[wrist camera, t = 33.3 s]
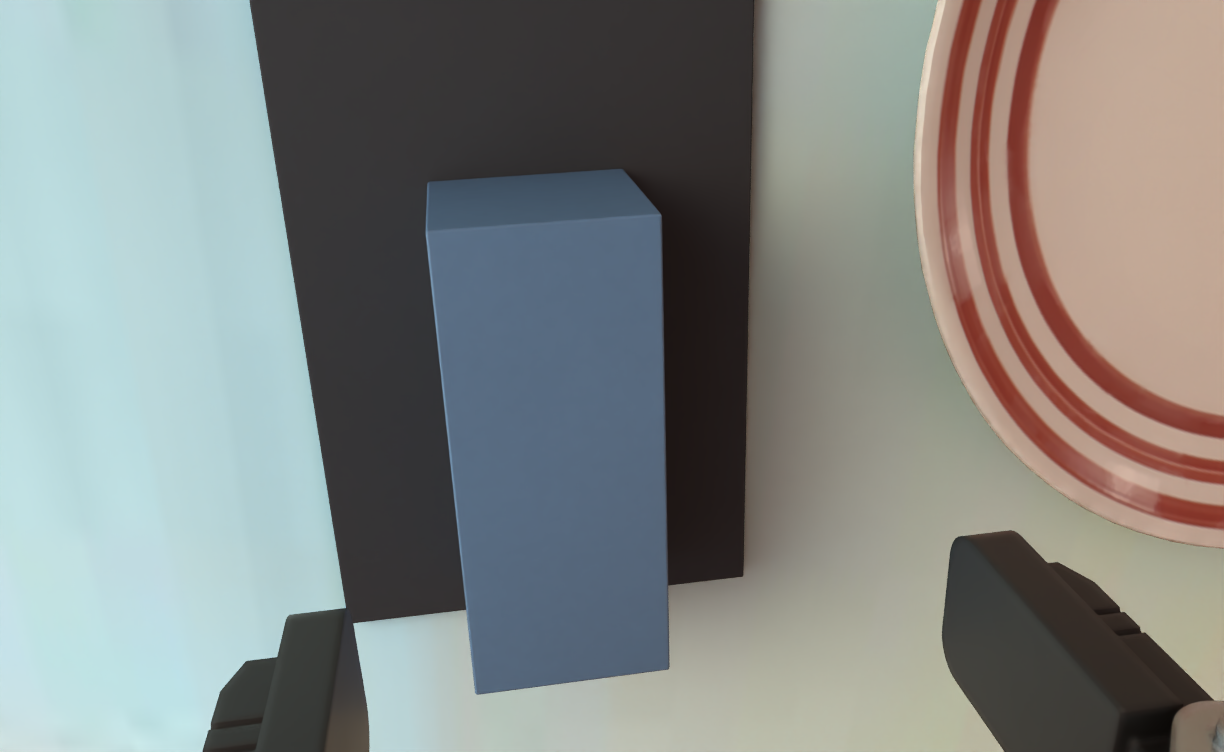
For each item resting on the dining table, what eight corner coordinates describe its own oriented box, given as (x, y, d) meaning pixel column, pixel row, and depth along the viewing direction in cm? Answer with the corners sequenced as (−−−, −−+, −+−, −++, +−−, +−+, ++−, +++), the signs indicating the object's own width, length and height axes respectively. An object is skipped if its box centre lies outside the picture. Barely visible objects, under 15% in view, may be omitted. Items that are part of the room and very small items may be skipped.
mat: (750, -52, 25) (755, -52, 25) (740, 569, 32) (743, 576, 32) (247, -32, 24) (243, -32, 23) (349, 616, 31) (348, 624, 30)
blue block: (475, 696, 26) (424, 230, 21) (469, 584, 31) (426, 181, 26) (670, 670, 27) (662, 213, 22) (635, 564, 31) (623, 168, 27)
